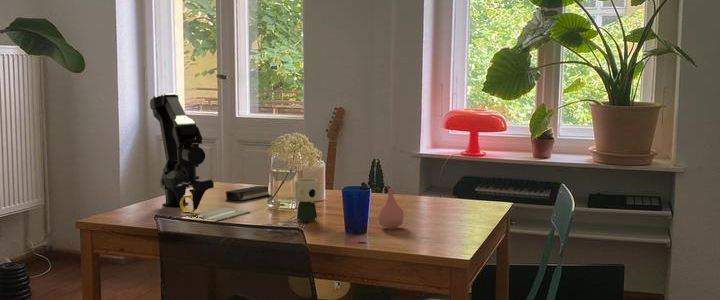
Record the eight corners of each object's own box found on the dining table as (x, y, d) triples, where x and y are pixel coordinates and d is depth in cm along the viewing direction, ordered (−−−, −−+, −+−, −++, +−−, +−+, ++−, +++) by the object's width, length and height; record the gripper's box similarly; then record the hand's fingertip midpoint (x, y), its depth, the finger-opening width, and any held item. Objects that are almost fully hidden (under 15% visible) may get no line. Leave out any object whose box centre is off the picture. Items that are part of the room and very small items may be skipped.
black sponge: (239, 203, 266) (239, 192, 265) (223, 200, 271) (223, 189, 271) (273, 196, 278) (273, 186, 277) (258, 193, 283) (258, 183, 283)
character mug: (309, 225, 230) (308, 183, 228) (288, 223, 233) (287, 182, 231) (325, 218, 240) (324, 177, 238) (305, 216, 243) (304, 176, 241)
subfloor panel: (171, 220, 238) (171, 218, 238) (221, 208, 256) (221, 206, 256) (200, 225, 231) (200, 223, 231) (250, 212, 249) (250, 210, 248)
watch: (198, 212, 249) (198, 194, 248) (193, 214, 247) (192, 196, 246) (183, 211, 252) (183, 193, 251) (178, 212, 249) (177, 194, 248)
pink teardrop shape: (385, 224, 231) (385, 185, 230) (408, 227, 227) (408, 187, 226) (373, 229, 225) (373, 189, 223) (396, 232, 221) (396, 192, 219)
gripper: (147, 161, 246) (149, 209, 248) (188, 166, 235) (189, 216, 237) (174, 157, 255) (176, 203, 257) (214, 162, 244) (215, 209, 246)
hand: (188, 208), depth 249 cm, fingers closed on watch, 6 cm apart
